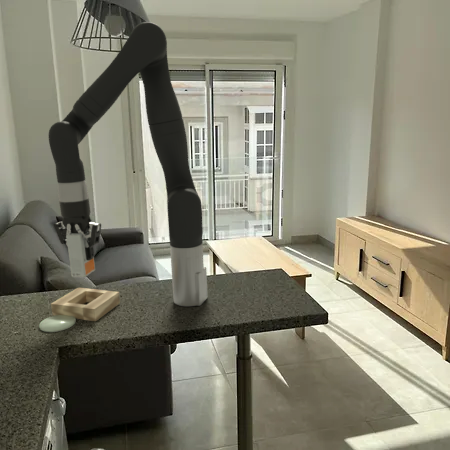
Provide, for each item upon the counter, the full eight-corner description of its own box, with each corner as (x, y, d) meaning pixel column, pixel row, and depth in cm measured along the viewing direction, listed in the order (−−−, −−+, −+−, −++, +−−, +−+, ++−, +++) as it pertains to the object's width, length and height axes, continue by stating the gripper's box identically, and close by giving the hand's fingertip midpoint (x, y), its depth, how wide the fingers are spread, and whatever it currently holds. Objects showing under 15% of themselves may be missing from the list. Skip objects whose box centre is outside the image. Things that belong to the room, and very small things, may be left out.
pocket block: (120, 303, 128) (118, 292, 127) (95, 321, 117) (94, 309, 116) (79, 298, 132) (78, 287, 132) (52, 315, 121) (50, 303, 121)
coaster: (82, 318, 119) (82, 316, 119) (60, 334, 111) (60, 331, 110) (55, 314, 122) (55, 312, 122) (31, 329, 113) (31, 327, 113)
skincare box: (85, 277, 119) (79, 235, 116) (71, 277, 120) (65, 235, 117) (96, 270, 125) (91, 229, 122) (82, 269, 125) (77, 229, 122)
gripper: (104, 195, 118) (111, 256, 122) (61, 195, 123) (69, 253, 127) (88, 201, 111) (96, 265, 115) (42, 200, 116) (51, 261, 120)
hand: (81, 258), depth 121 cm, fingers closed on skincare box, 4 cm apart
